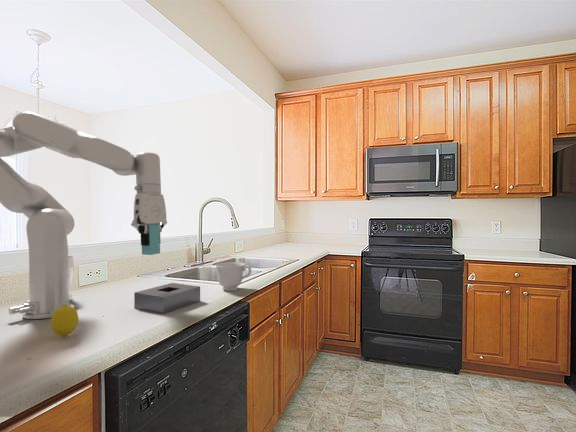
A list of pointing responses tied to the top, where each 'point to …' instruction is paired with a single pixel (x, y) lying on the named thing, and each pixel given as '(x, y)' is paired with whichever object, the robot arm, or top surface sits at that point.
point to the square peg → (152, 240)
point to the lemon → (64, 320)
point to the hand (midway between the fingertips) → (150, 244)
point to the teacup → (231, 274)
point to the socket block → (166, 297)
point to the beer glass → (70, 275)
